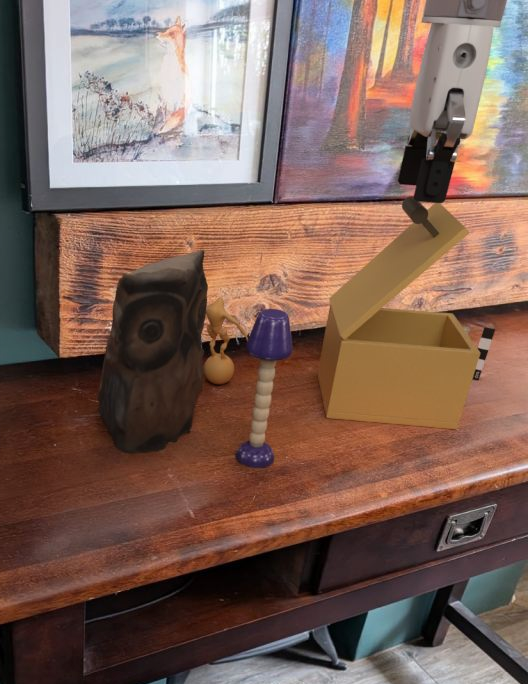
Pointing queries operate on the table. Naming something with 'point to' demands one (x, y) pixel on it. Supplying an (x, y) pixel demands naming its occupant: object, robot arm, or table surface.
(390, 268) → the lid
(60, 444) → the table surface
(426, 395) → the chest
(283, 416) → the table surface
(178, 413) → the owl
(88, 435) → the table surface
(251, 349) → the toy lamp
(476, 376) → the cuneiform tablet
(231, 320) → the figurine
